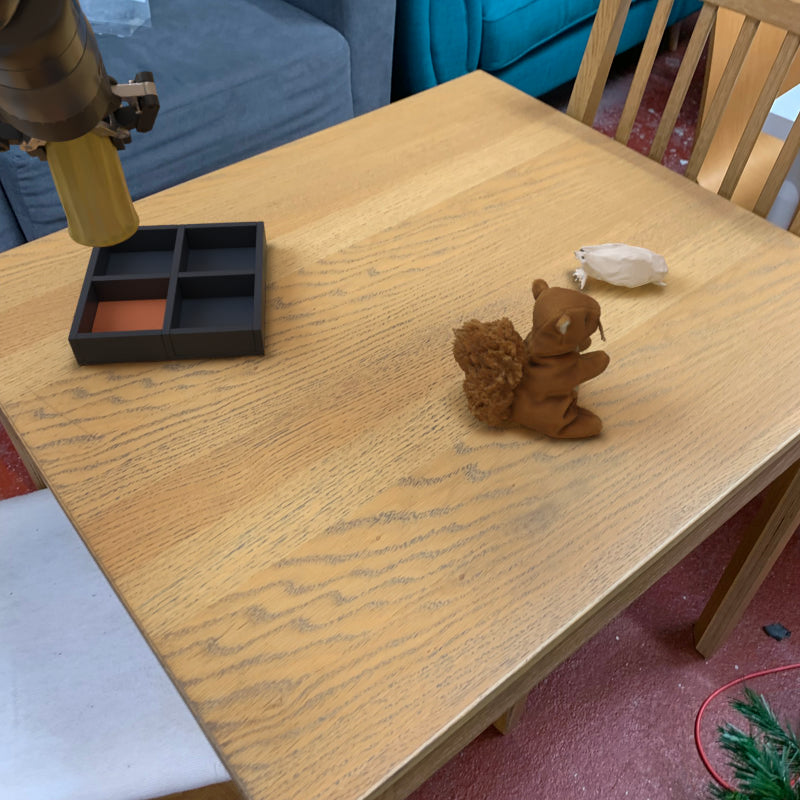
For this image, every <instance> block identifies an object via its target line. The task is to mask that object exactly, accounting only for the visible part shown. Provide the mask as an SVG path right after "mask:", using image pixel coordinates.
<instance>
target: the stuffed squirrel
mask: <svg viewBox="0 0 800 800" xmlns="http://www.w3.org/2000/svg"><path fill="white" fill-rule="evenodd" d="M531 284H532V287H531V292H532V293H531V294H532V296H533V299H534V305H533V309H532V326H531V330H530V331H529V332H528V333H527V335H526V336H525V338H524V339H523V337H522V336H521V334H520V333H519V331H517V330H515V325H514V323H513V321H512V320H510V319H509V317H508V316H507V317H505V316H503V317H501V320H500V319H499V318H497V319H496V320H493V321H485V322H481V321H480V320H478V319H477V318H471V319H470V320H469V321H467V322H466V321H464V322H462V324H463V325H461V327H457V328H455V327H453V328H451V331H452V333H453V335H454V338H455V339H453V341H454V342H451V344H452V345H453V347H452V349H451V351H452V355H453V358H454V361H455V362H456V363H457V365H458V367H459V368H460V369H461V371H462V372H464V379H463V380H462V382H463V385H461V387H462V392H464V394H465V398H466V399H467V404H466V407H467V409H468V410H469V413H470V414H471V416H472V417H474V418H475V419H476V420H478V422H480V423H484V424H486V426H489V427H494V426H497V425H499V424H501V423H503V422H504V420H509V421H510V422H513V423H515V424H516V423H517V424H519V425H521V426H524V427H527V428H528V429H531V430H534V431H536V432H538V433H541V434H544V435H546V436H549V437H551V438H553V439H554V438H555V439H572V438H573V439H576V438H586V437H590V436H596V435H599V434H600V433H601V432H602V430H603V427H604V425H603V421H602V419H601V418H600V416H598V415H597V414H595V413H594V412H593V411H591V410H588V409H586V408H585V407H582V406H579V405H578V400H579V399H578V398H579V388H580V387H579V386H580V385H582V384H584V383H586V382H588V381H591V380H593V379H595V378H597V377H598V376H600V375H602V374H603V373H604V372H605V371H606V370H607V368H608V367H609V366H610V365H609V364H610V362H611V357H610V355H609V354H607V352H606V351H605V350H602V349H601V350H598V349H597V350H594V351H589V352H585V353H583V352H584V351H586V350H588V349H589V348H590V347H591V345H592V342H593V340H592V338H591V336H593V335H594V334H595V333H596V332H597V330H598V332H599V335H600V340H601V341H602V342H603V343H605V342H606V341H607V338H606V337H605V332H604V327H603V324H602V322H601V315H602V311H601V308H602V307H601V305H600V304H599V301H598V300H596V299H595V298H594V297H592V296H590V295H588V294H586V293H583V292H581V291H578V290H575V289H571V288H566V287H560V286H552V287H549V284H548V283H547V281H546V280H544V279H543V278H536V279H534V280H533V281H532V282H531Z"/></svg>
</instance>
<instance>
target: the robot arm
mask: <svg viewBox="0 0 800 800" xmlns="http://www.w3.org/2000/svg"><path fill="white" fill-rule="evenodd" d="M123 102H125V103H127V104H128V105H125V106H124V105H123ZM160 109H161V103H160V99H159V95H158V91H157V87H156V82H155V78H154V73H153V72H151V71H148V70H143V71H139V72H137V73H136V74H135V77H134V79H129V80H128V82H127V83H118V81H117V80H116V78H115V77H114V76H112V75H109V74H108V72H107V69H106V66H105V63H104V58H103V56H102V53H101V50H100V48H99V44H98V41H97V37H96V34H95V32H94V30H93V27H92V24H91V23H90V21H89V19H88V17H87V15H86V14H85V12H84V11H83V9H82V6H81V2H80V0H0V153H5V152H8V151H10V150H11V146H19V150H20V151H23V152H26V154H27V155H28V156H29V157H32V158H36V157H37V159H39V161H40V162H48V161H47V158H46V153H45V150H44V147H43V145H45V144H46V142H47V141H48V142H65V141H70V140H74V139H77V138H79V137H82V136H84V135H85V134H87V133H89V132H91V133H93V134H95V135H98V136H100V137H106V136H112V139H113V141H114V144H115V147H116V149H117V152H119V151H125V150H126V145H130V144H131V143H133V139H132V135H131V131H132V130H135V131H136V133H141V134H147V133H148V132H151V131H152V130H153V128H154V125H155V123H156V120H157V118H158V114H159V111H160Z"/></svg>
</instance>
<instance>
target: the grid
mask: <svg viewBox="0 0 800 800" xmlns="http://www.w3.org/2000/svg"><path fill="white" fill-rule="evenodd" d="M267 243H268V242H267V237H266V228H265V221H264V220H259V221H256V220H255V221H254V220H253V221H235V222H234V221H232V222H231V221H229V222H227V221H226V222H205V223H202V222H201V223H186V224H185V223H181V224H177V223H176V224H154V225H152V224H151V225H139V227H138V230H137V231H136V232H135V233H134V234H133V235H132V236H131V237H130V238H129V239H127V240H125V241H123V242H121V243H118V244H115V245H112V246H106V247H92V248H91V253H90V257H89V260H88V264H87V267H86V271H85V275H84V278H83V282H82V286H81V290H80V293H79V297H78V301H77V303H76V308H75V311H74V315H73V319H72V322H71V326H70V330H69V333H68V335H67V342H68V343H69V346H70V349H71V351H72V353H73V355H74V358H75V361H76V363H77V366H89V365H90V366H91V365H111V364H129V363H147V362H148V363H149V362H166V361H168V362H169V361H184V360H185V361H186V360H187V361H188V360H202V359H203V360H206V359H223V358H243V357H260V356H261V357H262V356H265V354H266V317H267V315H266V312H267V311H266V309H267V271H268V270H267V268H268V267H267V266H268V265H267V264H268V244H267Z"/></svg>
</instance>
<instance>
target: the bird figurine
mask: <svg viewBox="0 0 800 800" xmlns="http://www.w3.org/2000/svg"><path fill="white" fill-rule="evenodd" d="M573 254H574V259H576V260H577V261H579V263H580V264H581V265H580V267H577V268H575V272H574V273H572V277H574V276H576V279H574V280H575V282H576V281H577V280H578V281H579V282H580V283H578V285H580V290H581V291H582V289H583V288H584V287H585V285H586V283H587V280H588V276H589V277H591V278H593V279H595V280H598V281H603V282H606V283H609V284H610V285H613V286H620V287H626V288H629V289H634V288H637V287H641V286H644V285H648V284H652V285H655V286H658V287H667V284H666V283H665V282H663V280H664V279H665V277H666V275H667V274H668V273H669V266H668V264H667V262H666V259H665V257H664V256H663V255H661V254H659V253H656V252H654V251H652V250H651V249H648V248H645V247H641V246H634V245H629V244H627V243H625V242H624V243H623V242H607V243H602V244H594V245H593V244H592V245H582V246H581V247H580V248H579V250H578V251H577V250H574V251H573Z"/></svg>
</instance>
